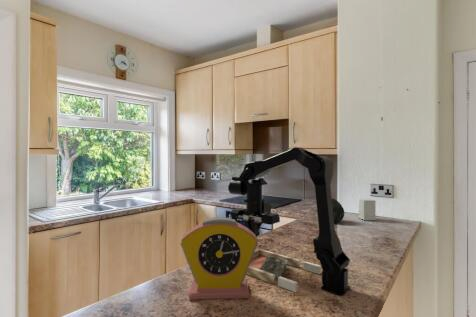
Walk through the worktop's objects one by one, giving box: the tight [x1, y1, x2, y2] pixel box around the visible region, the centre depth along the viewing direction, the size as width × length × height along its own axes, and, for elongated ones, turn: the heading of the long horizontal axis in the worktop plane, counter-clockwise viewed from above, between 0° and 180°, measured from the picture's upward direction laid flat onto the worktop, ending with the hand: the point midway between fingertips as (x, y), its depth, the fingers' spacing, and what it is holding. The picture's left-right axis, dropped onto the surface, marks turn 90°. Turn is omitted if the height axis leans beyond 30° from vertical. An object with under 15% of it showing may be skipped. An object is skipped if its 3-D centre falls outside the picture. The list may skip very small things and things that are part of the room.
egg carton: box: [261, 254, 288, 279], centre depth 96 cm, size 11×8×4 cm
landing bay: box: [277, 261, 322, 293], centre depth 89 cm, size 6×17×2 cm, turn 139°
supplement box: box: [358, 198, 376, 221], centre depth 172 cm, size 7×7×13 cm
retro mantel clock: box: [180, 216, 258, 301], centre depth 81 cm, size 22×9×22 cm, turn 93°
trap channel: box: [246, 248, 301, 284], centre depth 98 cm, size 18×17×2 cm
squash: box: [332, 198, 345, 224], centre depth 167 cm, size 14×15×15 cm
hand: (254, 239), depth 101 cm, fingers closed
